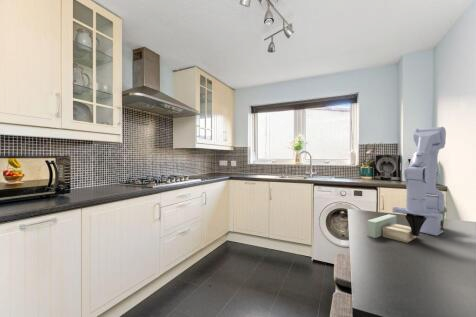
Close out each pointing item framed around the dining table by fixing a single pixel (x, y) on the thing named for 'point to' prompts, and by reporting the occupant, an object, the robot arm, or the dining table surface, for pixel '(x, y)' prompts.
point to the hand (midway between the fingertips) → (415, 235)
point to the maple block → (398, 232)
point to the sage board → (379, 225)
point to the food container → (443, 217)
